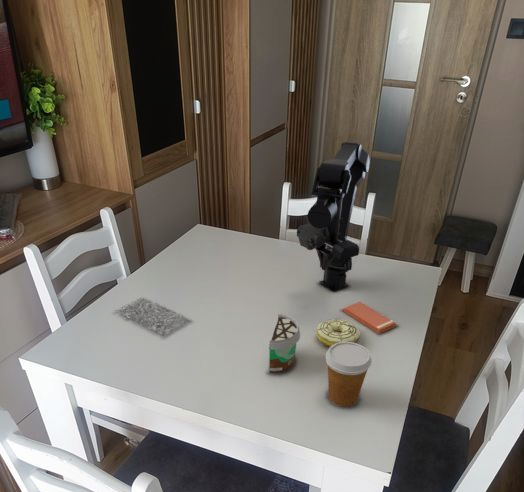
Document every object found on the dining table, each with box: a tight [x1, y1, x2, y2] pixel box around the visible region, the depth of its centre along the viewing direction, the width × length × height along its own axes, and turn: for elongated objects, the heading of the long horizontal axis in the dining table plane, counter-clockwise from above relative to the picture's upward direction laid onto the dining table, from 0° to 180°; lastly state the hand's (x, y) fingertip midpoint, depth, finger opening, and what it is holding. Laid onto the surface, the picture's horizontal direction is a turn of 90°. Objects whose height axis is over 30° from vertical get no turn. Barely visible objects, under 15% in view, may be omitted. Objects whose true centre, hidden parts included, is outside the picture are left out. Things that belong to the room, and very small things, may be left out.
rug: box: [114, 297, 190, 336], centre depth 133 cm, size 10×20×1 cm, turn 52°
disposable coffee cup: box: [325, 342, 373, 408], centre depth 103 cm, size 10×10×12 cm
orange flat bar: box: [342, 301, 397, 335], centre depth 133 cm, size 14×6×1 cm, turn 35°
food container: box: [268, 313, 301, 374], centre depth 114 cm, size 12×6×10 cm, turn 168°
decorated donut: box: [316, 318, 360, 348], centre depth 124 cm, size 10×11×4 cm
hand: (324, 269), depth 131 cm, fingers closed
